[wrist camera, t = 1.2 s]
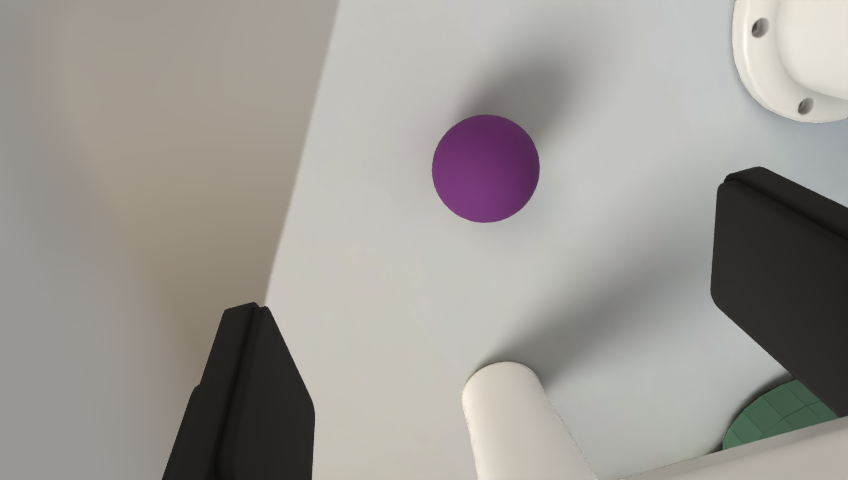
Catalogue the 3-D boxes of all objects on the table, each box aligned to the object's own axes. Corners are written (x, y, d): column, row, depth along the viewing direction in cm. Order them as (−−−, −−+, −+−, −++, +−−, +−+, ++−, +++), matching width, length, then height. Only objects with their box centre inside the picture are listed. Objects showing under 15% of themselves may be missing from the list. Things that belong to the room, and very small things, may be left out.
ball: (509, 90, 25) (546, 116, 21) (527, 180, 28) (563, 221, 23) (412, 121, 25) (429, 154, 21) (438, 209, 28) (458, 255, 23)
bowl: (857, 351, 38) (924, 400, 34) (839, 444, 44) (894, 497, 39) (717, 396, 38) (766, 452, 34) (716, 484, 44) (758, 542, 39)
